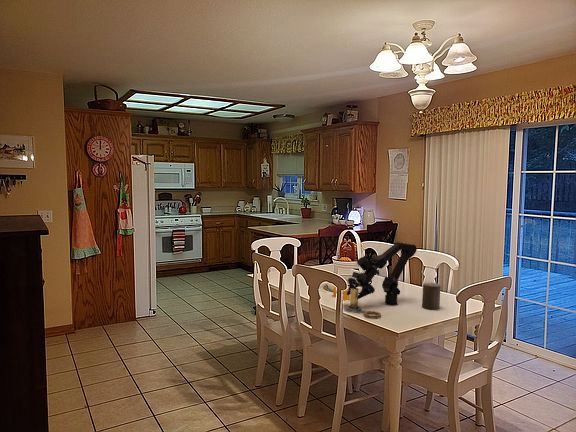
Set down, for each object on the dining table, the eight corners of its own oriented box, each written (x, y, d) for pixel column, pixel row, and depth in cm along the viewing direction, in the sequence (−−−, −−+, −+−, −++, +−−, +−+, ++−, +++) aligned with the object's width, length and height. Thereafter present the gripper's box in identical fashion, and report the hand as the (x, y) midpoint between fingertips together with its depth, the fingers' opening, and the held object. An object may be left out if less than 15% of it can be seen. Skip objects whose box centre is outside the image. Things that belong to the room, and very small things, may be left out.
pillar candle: (428, 310, 244) (429, 284, 243) (418, 305, 254) (419, 280, 252) (443, 309, 247) (444, 283, 246) (433, 304, 256) (434, 279, 255)
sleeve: (359, 309, 245) (359, 288, 244) (355, 311, 241) (356, 290, 240) (352, 308, 248) (352, 287, 247) (348, 309, 244) (349, 288, 243)
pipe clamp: (349, 300, 264) (349, 290, 264) (343, 301, 262) (343, 290, 262) (339, 295, 275) (339, 285, 274) (333, 296, 273) (333, 286, 273)
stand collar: (380, 314, 237) (380, 311, 236) (381, 319, 228) (381, 316, 228) (364, 313, 238) (364, 310, 238) (364, 318, 229) (364, 315, 229)
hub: (362, 307, 248) (362, 305, 248) (363, 312, 239) (363, 310, 239) (345, 306, 250) (345, 304, 250) (344, 311, 240) (344, 309, 240)
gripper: (350, 263, 253) (334, 284, 248) (371, 269, 236) (354, 291, 232) (360, 275, 257) (345, 296, 252) (381, 282, 241) (365, 304, 236)
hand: (352, 296), depth 243 cm, fingers open, 9 cm apart
